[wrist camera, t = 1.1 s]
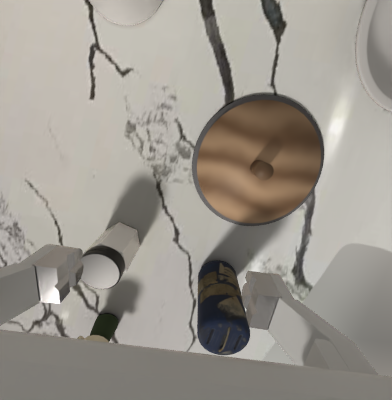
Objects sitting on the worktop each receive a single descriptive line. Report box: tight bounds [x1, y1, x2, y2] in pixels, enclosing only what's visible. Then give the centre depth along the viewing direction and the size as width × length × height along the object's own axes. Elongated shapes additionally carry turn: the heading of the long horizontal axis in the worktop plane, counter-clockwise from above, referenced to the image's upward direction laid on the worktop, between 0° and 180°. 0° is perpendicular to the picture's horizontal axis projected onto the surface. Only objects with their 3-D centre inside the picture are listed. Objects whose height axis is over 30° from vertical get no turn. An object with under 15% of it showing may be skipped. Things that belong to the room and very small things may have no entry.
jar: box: [80, 222, 140, 289], centre depth 41 cm, size 9×8×12 cm
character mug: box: [77, 314, 118, 343], centre depth 49 cm, size 11×7×13 cm, turn 29°
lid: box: [197, 100, 321, 223], centre depth 38 cm, size 25×25×5 cm
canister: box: [197, 261, 250, 355], centre depth 41 cm, size 10×10×18 cm
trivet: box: [192, 95, 324, 226], centre depth 41 cm, size 27×27×1 cm
